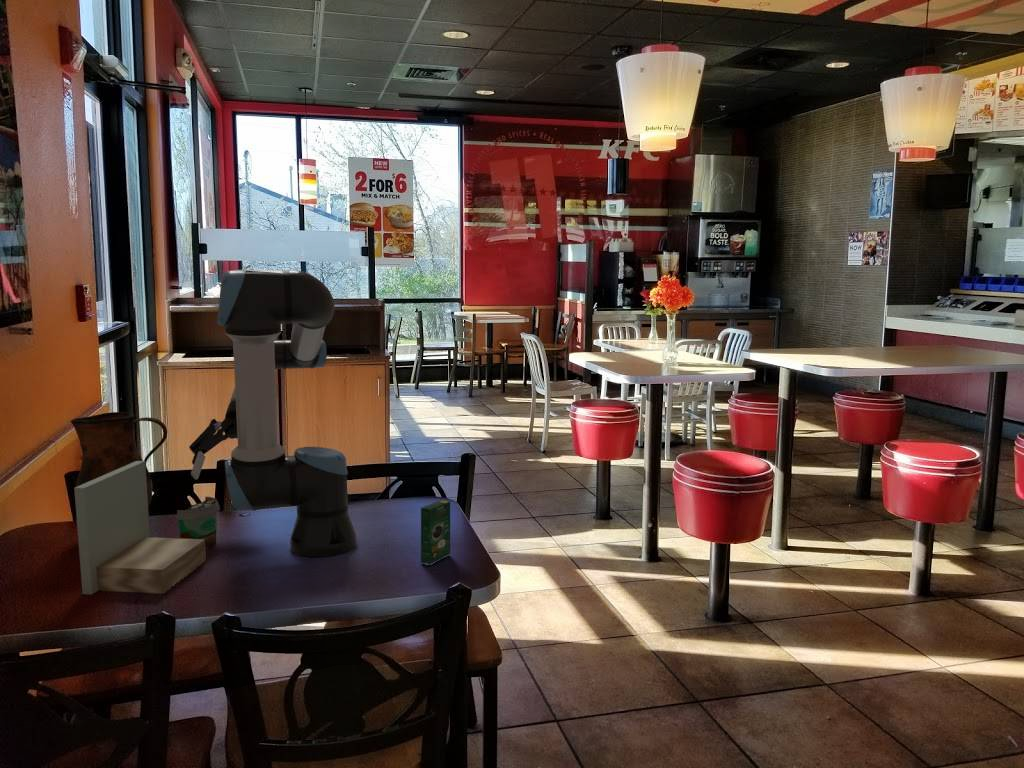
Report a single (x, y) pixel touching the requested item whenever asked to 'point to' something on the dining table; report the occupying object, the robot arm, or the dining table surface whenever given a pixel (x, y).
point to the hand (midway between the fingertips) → (220, 477)
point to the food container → (199, 521)
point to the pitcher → (110, 445)
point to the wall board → (110, 518)
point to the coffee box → (435, 531)
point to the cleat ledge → (151, 565)
